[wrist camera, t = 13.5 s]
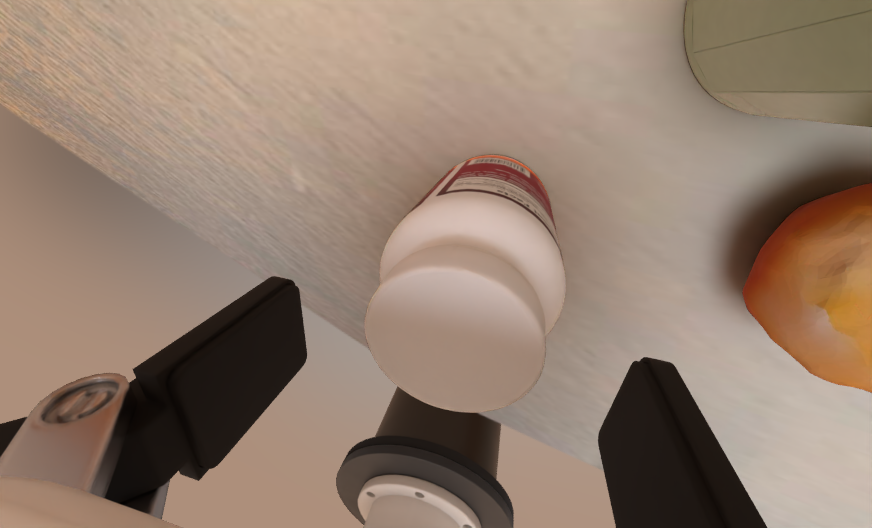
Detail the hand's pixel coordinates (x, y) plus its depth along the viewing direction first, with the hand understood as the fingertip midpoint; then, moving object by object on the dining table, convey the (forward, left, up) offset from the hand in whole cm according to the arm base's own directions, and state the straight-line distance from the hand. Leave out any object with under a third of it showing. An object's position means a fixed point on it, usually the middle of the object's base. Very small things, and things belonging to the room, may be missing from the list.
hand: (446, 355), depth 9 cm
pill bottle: (+1, 0, -11) cm, 11 cm away
